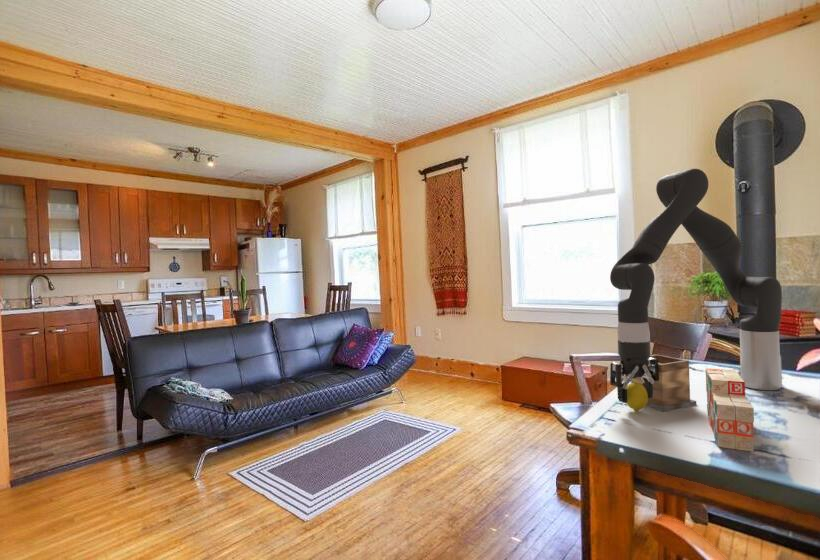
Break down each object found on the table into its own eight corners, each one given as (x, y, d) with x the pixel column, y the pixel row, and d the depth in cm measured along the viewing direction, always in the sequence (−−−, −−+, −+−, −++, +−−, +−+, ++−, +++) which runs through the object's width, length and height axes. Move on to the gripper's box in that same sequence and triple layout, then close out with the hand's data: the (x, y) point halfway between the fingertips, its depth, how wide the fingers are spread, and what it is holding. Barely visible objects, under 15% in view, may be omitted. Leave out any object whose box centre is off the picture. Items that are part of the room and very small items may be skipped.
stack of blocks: (755, 453, 85) (753, 392, 85) (717, 447, 88) (715, 389, 88) (737, 418, 103) (736, 369, 103) (706, 415, 107) (705, 367, 106)
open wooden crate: (657, 393, 125) (656, 353, 125) (696, 404, 114) (695, 360, 114) (626, 399, 121) (624, 357, 121) (663, 411, 110) (661, 366, 110)
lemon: (651, 415, 108) (650, 384, 107) (628, 415, 109) (627, 384, 109) (644, 408, 113) (643, 379, 113) (622, 408, 114) (621, 378, 114)
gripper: (642, 334, 116) (643, 392, 117) (601, 339, 112) (603, 399, 112) (666, 338, 109) (668, 399, 110) (624, 343, 105) (626, 407, 105)
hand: (635, 399), depth 111 cm, fingers open, 8 cm apart
